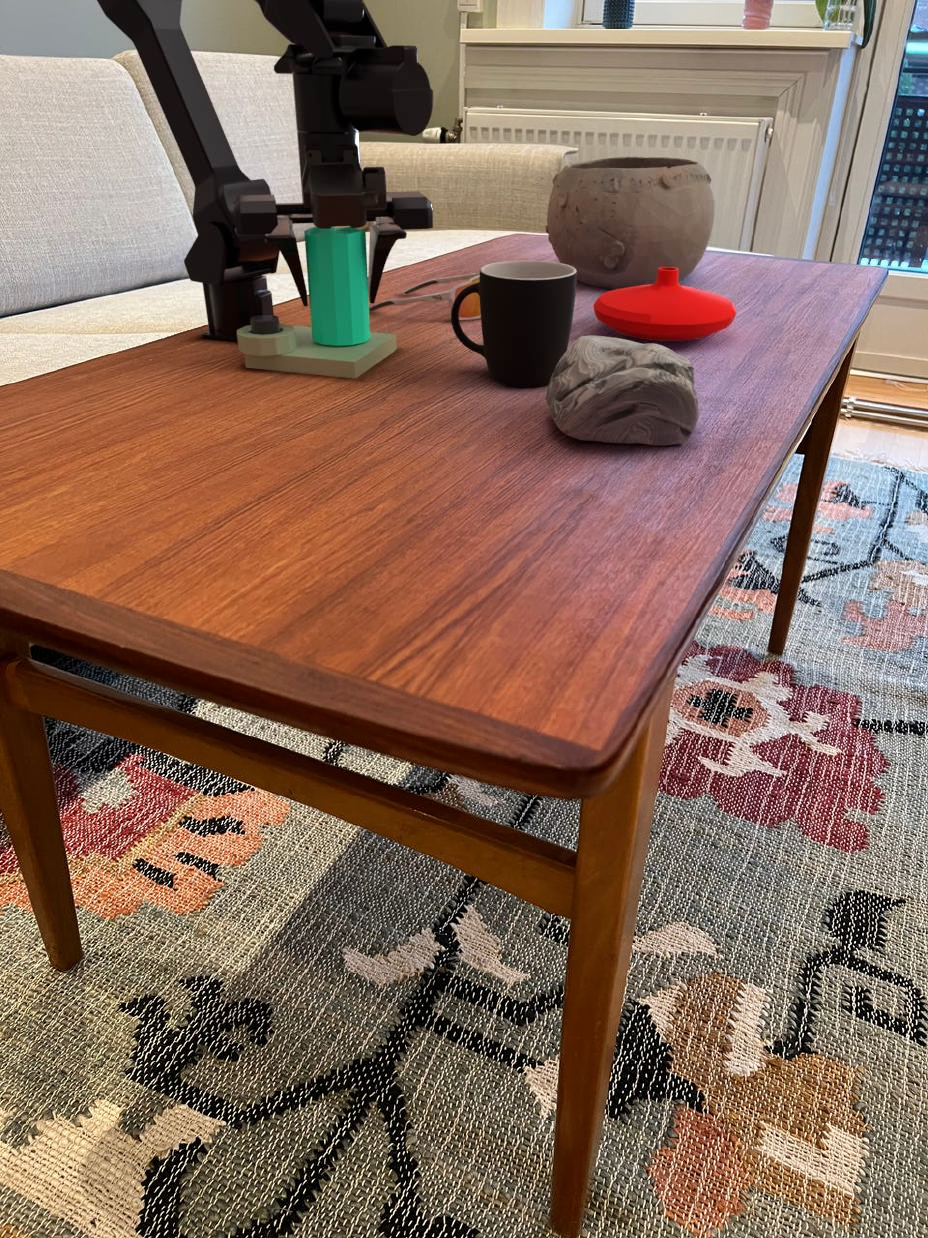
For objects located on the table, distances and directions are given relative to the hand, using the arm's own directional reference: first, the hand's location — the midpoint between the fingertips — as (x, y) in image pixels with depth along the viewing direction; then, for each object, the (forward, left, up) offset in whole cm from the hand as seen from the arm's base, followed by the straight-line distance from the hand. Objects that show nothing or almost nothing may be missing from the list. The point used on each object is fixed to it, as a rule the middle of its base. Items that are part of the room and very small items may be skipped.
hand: (339, 304), depth 94 cm
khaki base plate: (-1, -2, -5) cm, 6 cm away
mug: (+19, -2, -6) cm, 19 cm away
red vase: (+31, +19, -6) cm, 37 cm away
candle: (0, 0, -4) cm, 4 cm away
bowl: (+22, +49, -6) cm, 54 cm away
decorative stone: (+32, -13, -6) cm, 34 cm away
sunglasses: (+3, +23, -6) cm, 24 cm away
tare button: (-6, -5, -2) cm, 8 cm away
